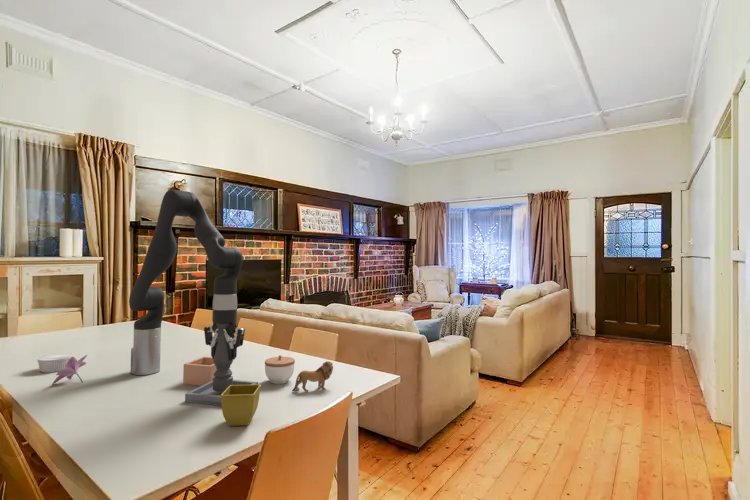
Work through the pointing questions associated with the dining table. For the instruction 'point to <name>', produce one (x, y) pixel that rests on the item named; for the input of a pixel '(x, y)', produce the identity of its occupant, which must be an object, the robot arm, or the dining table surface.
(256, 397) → the flower pot
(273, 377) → the lidded jar
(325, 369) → the lion figurine
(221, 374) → the candle holder
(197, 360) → the square copper bin
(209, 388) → the tray
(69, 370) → the lily
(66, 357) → the ramekin
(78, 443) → the dining table surface
